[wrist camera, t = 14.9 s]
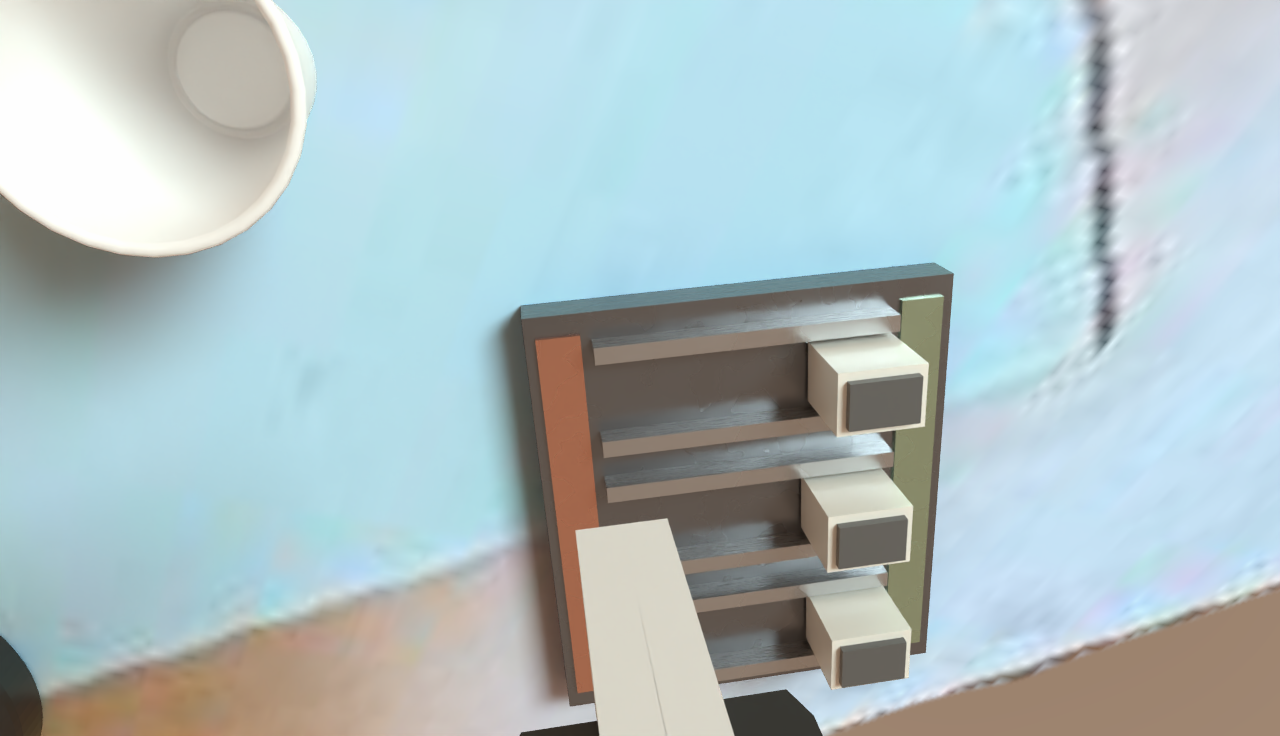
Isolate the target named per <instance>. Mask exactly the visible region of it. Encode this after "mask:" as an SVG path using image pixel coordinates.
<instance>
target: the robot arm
mask: <svg viewBox="0 0 1280 736" xmlns="http://www.w3.org/2000/svg"><path fill="white" fill-rule="evenodd" d="M575 531H576V540H577V549H578V558H579V567H580V576H581V585H582V594H583V603H584V612H585V621H586V630H587V639H588V648H589V657H590V666H591V674H592V683H593V691H594V700H595V709H596V717H597V721H593V722H587V723H580V724H574V725H567V726H561V727H554V728H548V729H541V730H535V731H528V732H522V733H521V734H520V736H822V733H821V731H820V729H819V727H818V724H817V722H816V720H815V717H814V716H813V715H812V714H811V713H810V712H809V711H808V710H807V709H806V708H805V707H804V706H803V705H802V704H801V703H800V702H799V701H798V700H797V699H796V698H795V697H794V696H793V695H792V694H790V693H789V692H788V691H787V690H780V691H773V692H767V693H760V694H754V695H747V696H740V697H734V698H727V699H723V697H722V694H721V691H720V687H719V684H718V681H717V678H716V674H715V671H714V668H713V665H712V662H711V658H710V655H709V652H708V649H707V645H706V642H705V639H704V636H703V632H702V629H701V626H700V623H699V619H698V616H697V613H696V610H695V606H694V603H693V600H692V597H691V594H690V590H689V587H688V584H687V581H686V577H685V574H684V571H683V568H682V564H681V561H680V558H679V555H678V551H677V548H676V545H675V542H674V539H673V535H672V532H671V529H670V526H669V522H668V519H667V518H666V519H658V520H650V521H643V522H635V523H627V524H620V525H612V526H604V527H597V528H589V529H582V530H575ZM41 730H42V706H41V700H40V696H39V692H38V690H37V687H36V684H35V682H34V680H33V678H32V675H31V673H30V672H29V670H28V668H27V667H26V665H25V664H24V662H23V661H22V659H21V658H20V656H19V655H18V654H17V653H16V652H15V650H14V649H13V648H12V647H11V646H10V645H9V644H8V643H7V642H6V641H5V640H4V639H3V638H2V637H1V636H0V736H40V735H41Z"/></svg>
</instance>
